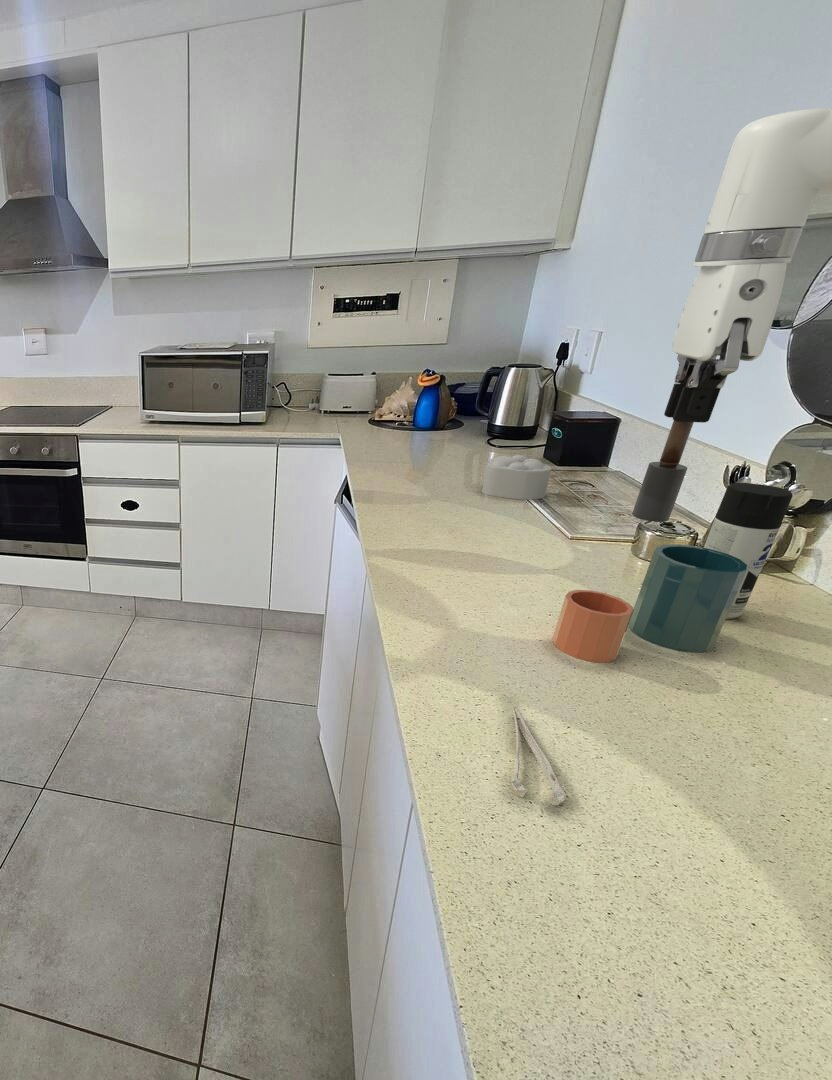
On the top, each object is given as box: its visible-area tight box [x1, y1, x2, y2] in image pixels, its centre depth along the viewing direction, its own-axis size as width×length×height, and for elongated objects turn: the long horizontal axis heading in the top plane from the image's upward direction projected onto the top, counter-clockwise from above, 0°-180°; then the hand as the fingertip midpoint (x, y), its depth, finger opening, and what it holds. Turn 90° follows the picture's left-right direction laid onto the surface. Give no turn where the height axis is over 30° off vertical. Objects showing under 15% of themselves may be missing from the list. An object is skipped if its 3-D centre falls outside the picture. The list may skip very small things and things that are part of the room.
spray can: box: [703, 482, 794, 620], centre depth 87 cm, size 7×7×20 cm
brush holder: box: [551, 589, 634, 664], centre depth 81 cm, size 7×7×8 cm
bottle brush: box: [631, 376, 695, 523], centre depth 71 cm, size 4×4×18 cm
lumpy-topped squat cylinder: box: [481, 454, 553, 501], centre depth 142 cm, size 10×13×9 cm
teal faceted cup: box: [628, 543, 747, 654], centre depth 82 cm, size 9×9×13 cm
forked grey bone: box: [510, 706, 567, 806], centre depth 66 cm, size 17×5×2 cm, turn 155°
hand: (685, 418), depth 70 cm, fingers closed on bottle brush
